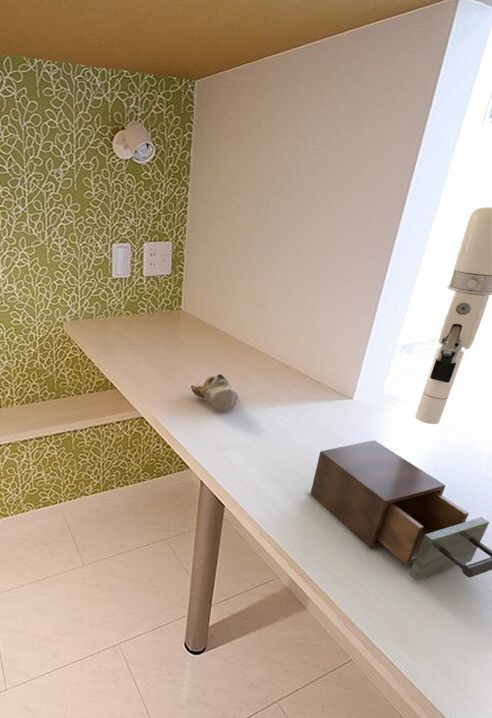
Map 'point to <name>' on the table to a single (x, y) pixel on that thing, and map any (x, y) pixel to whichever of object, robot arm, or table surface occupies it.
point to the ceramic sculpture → (217, 393)
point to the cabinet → (367, 485)
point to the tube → (436, 394)
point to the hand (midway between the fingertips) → (442, 375)
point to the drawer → (434, 536)
